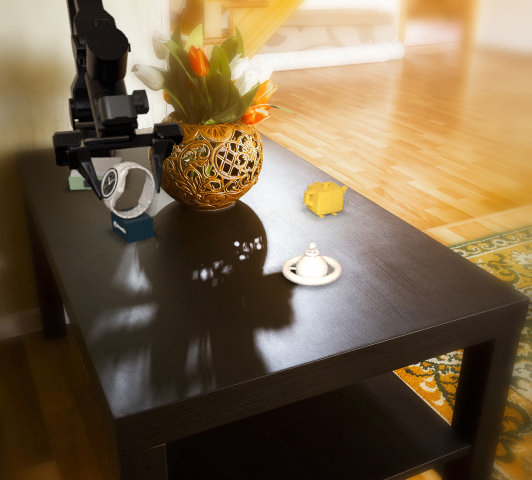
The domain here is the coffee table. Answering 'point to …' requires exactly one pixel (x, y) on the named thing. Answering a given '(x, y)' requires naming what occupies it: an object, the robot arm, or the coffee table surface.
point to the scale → (100, 168)
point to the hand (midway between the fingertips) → (130, 195)
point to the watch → (134, 218)
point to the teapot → (324, 198)
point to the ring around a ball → (311, 268)
